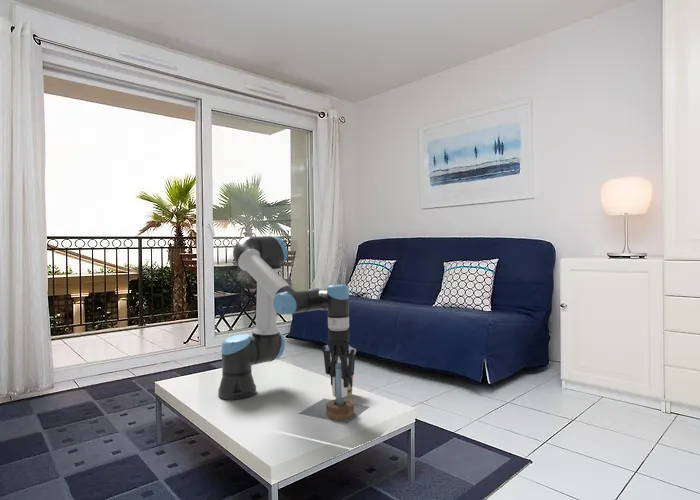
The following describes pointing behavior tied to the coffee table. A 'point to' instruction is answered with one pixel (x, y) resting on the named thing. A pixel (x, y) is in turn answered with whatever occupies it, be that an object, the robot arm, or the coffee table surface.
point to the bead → (340, 410)
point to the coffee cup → (349, 388)
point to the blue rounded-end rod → (339, 384)
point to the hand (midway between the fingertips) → (340, 395)
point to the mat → (320, 411)
